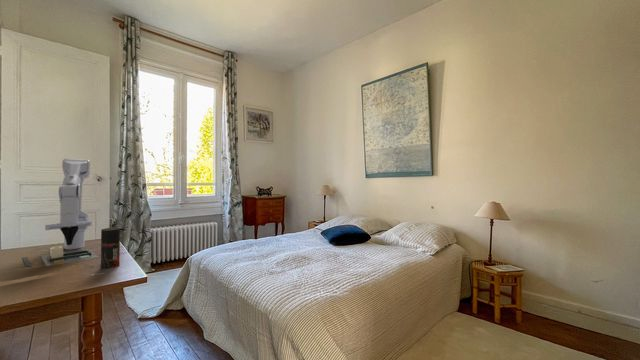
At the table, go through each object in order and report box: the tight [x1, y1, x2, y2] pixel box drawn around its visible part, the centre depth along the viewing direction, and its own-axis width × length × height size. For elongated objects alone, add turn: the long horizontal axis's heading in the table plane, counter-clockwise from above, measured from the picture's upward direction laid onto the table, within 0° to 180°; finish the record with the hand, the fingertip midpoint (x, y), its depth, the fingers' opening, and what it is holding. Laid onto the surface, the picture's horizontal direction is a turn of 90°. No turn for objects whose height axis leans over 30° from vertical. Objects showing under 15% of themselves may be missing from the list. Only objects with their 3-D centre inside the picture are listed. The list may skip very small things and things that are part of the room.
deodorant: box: [100, 227, 121, 270], centre depth 109 cm, size 6×6×15 cm
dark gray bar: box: [22, 256, 32, 268], centre depth 108 cm, size 16×1×1 cm, turn 50°
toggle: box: [49, 245, 64, 259], centre depth 114 cm, size 4×4×5 cm
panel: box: [40, 247, 99, 267], centre depth 117 cm, size 20×16×2 cm
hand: (69, 244), depth 117 cm, fingers closed
